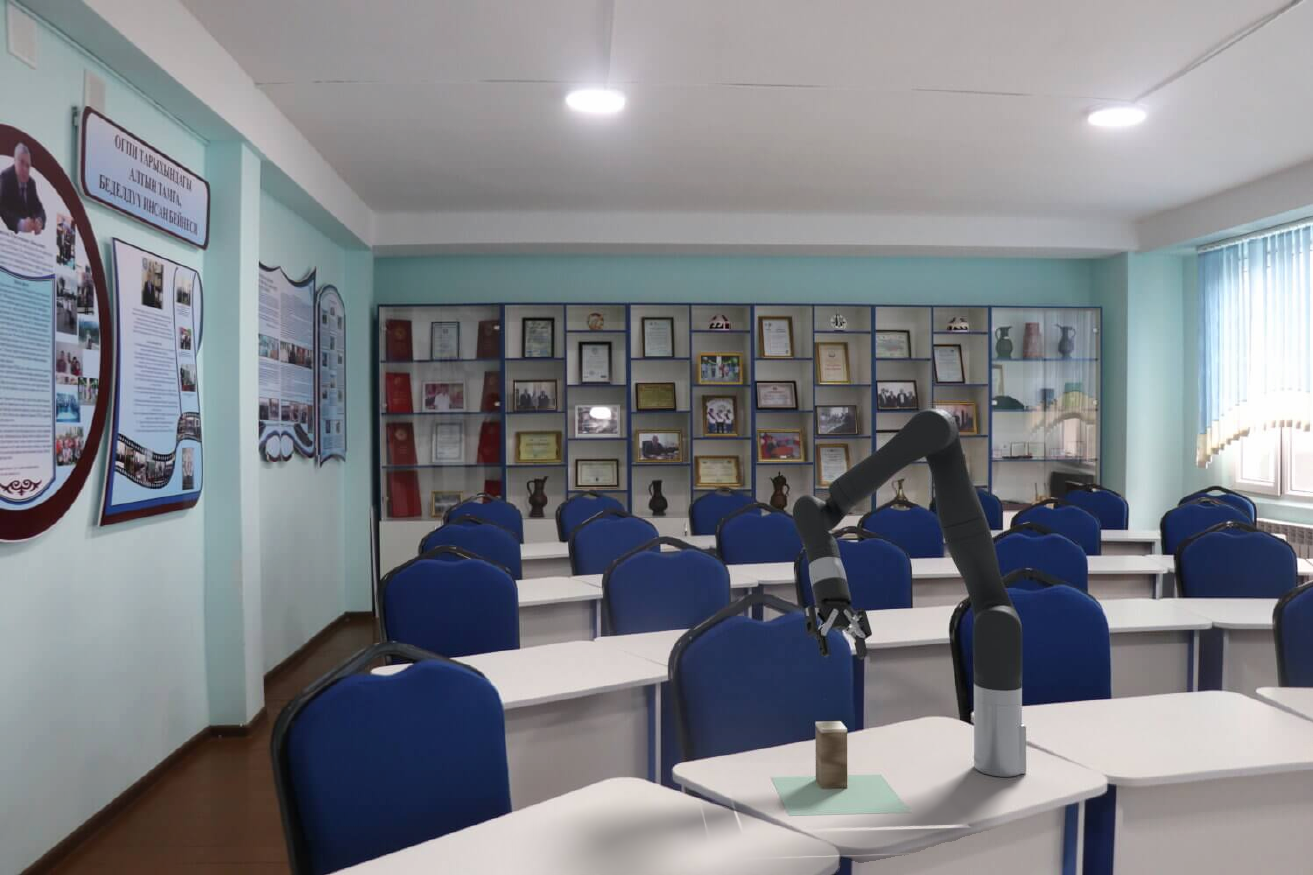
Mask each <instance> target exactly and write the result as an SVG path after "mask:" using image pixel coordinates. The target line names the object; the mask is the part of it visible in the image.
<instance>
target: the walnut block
mask: <svg viewBox="0 0 1313 875" xmlns="http://www.w3.org/2000/svg"><path fill="white" fill-rule="evenodd" d="M814 722H815V726H814V727H815V728H814V730H815V776H816V781H817V783H818V784H819V786H820V788H821V789H847V775H848V728H847V727H846V726H845V724H844V723H843V722H842V721H841V720H833V721H831V720H830V721H814Z"/></svg>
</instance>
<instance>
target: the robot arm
mask: <svg viewBox="0 0 1313 875" xmlns="http://www.w3.org/2000/svg"><path fill="white" fill-rule="evenodd" d="M924 458H925V460H926V462H927V464H928V468H929V470H930V472H931V474H930V475H931V476H932V477H931V478H932V480H933V486H934V497H935V499H934V500H935V508H936V515H937V520H938V523H939V527H940V529H941V533H942V536H943V539H944V542H945V545H946V548H947V550H948V552H949V554H950V556H951V558H952V559H951V560H952V561H953V563H954V565H955V567H956V568H957V571H958V573H959V574H960V576H961V578H962V581H963V582H964V584H965V588H966V591H967V594H968V597H969V603H970V606H971V610H972V616H973V622H974V623H973V629H972V643H973V644H972V647H973V648H972V653H973V654H972V655H973V664H972V666H973V667H972V668H973V768H974V769H975V770H976V771H978V772H980V773H982V774H984V775H989V776H994V777H1000V778H1001V777H1002V778H1003V777H1005V778H1006V777H1007V778H1010V777H1016V776H1019V775H1022V774H1023V775H1024V774H1027V727H1026V725H1025V724H1024V723H1023V627H1022V626H1023V625H1022V621H1021V619H1020V616H1019V614H1018V612H1017V610H1016V609H1015V606H1014V604H1013V602H1012V600H1011V597H1010V596H1009V593H1008V590H1007V588H1006V586H1005V584H1004V582H1003V579H1002V575H1001V572H1000V571H1001V570H1000V566H999V561H998V556H997V551H996V546H995V544H994V543H995V542H994V539H993V535H992V531H991V529H990V526H989V522H988V520H987V517H986V513H985V510H984V508H983V505H982V503H981V500H980V497H979V495H978V492H977V489H976V487H975V485H974V482H973V480H972V478H971V475H970V472H969V470H968V467H967V464H966V460H965V456H964V451H963V448H962V443H961V438H960V433H959V428H958V425H957V422H956V419H955V418H954V417H953V415H951V413H950V412H947V411H946V410H945V409H941V408H927V409H923V410H919V411H918V412H916V413H915V414H914V415H913V416H912V417H911V419H910V420H909V421H908V422H906V424H905V425H903V427H902V428H901V429H900V430H899V431H897V433H896V434H895V435H894V436H893V437H892V438H891V439H889V441H886V443H885V444H884V445H883V446H881V447H880V448H879V449H877V450H876V451H874V452H873V453H871V455H869V456H867V457H866V458H864V459H863V460H861V461H860V462H859V463H857V464H855V465H854V466H852V467H851V468H849V469H848V470H846V471H845V472H844V473H843V474H841V475H840V476H839V477H837V478H835V480H833V481H832V482H831V483H830V484H829V486H828V493H829V496H828V497H827V498H826V499H825V500H822V499H820V498H818V497H816V496H814V495H811V494H805V495H802V496H800V497H798V498H797V499H796V501H795V502H794V504H793V506H792V519H793V524H794V526H795V529H796V532H797V534H798V536H799V538H800V540H801V542H802V544H803V546H804V549H805V553H806V555H805V556H806V560H807V564H808V570H809V572H808V574H809V575H808V576H809V580H810V584H811V590H812V596H813V600H814V604H810V605H809V606H808V607H806V608H805V609H804V610H803V615H804V621H805V629H806V635H807V637H810V638H811V637H813V638H815V640H816V642H817V646H818V652H819V653H820V655H821V657H823V658H827V657H829V656H830V655H831V648H830V643H829V638H828V636H827V633H828V631H834V630H837V631H841V632H844V633H845V634H846V635H848V636H849V637H851V638H852V639H853V642H854V647H855V652H856V657H857V659H858V660H864V659H865V658H866V657H867V655H868V649H867V645H866V640H867V639H869V638H870V637H871V636H873V632H872V628H871V624H870V622H869V618H868V613H867V610H866V609H865V608H861V609H858V610H854V609H853V608H852V606H851V604H852V603H851V602H852V597H851V592H850V589H849V583H848V580H847V574H846V571H845V567H844V565H843V562H842V558H841V553H840V549H839V545H838V542H837V540H836V538H835V537H834V536H833V535H832V534H831V533H830V532H831V531H833V530H834V529H835V528H836V527H837V526H839V524H840V523H841V521H843V519H845V517H846V516H847V515H848V514H849V513H850V511H851V510H852V508H854V507H855V506H857V505H859V504H860V503H862V502H863V501H864V500H866V499H867V498H869V497H870V496H871V495H873V494H874V493H875V492H877V491H878V490H879V489H880V488H881V487H882V486H883V485H885V484H886V483H887V482H888V481H889V480H890V479H892V478H893V477H894V476H895V475H896V474H897V473H899V472H900V471H902V470H903V469H904V468H906V467H908V466H910V465H911V464H913V463H915V462H917V461H918V460H921V459H924ZM817 617H818V618H819V619H820V624H819V626H818V620H817ZM850 625H851V627H850Z"/></svg>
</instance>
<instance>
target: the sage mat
mask: <svg viewBox="0 0 1313 875" xmlns="http://www.w3.org/2000/svg"><path fill="white" fill-rule="evenodd" d="M770 779H771V781H772V783H773V785H774V787H775V790H776V791H777V794H778V795H779V797H780V799H781V801H782V804H783V805H784V807H785V810H786V812H787V814H788V816H789V817H793V816H795V817H797V816H799V817H800V816H831V815H870V814H874V815H875V814H903V813H904V814H905V813H906V814H907V813H909V814H910V813H912V811H911V810H910V809H909V808H908V806H907V805H906V804H905V803H904V801H903V800H902V799H901V798H900V796H899V795H898V794H897V793H896V792H895V790H894V789H893V788H892V786H891V785H890V784H889V782H887V780H886V779H885V778H884V776H882V774H878V773H877V774H847V789H821V788H820V786H819V784H818V783H817V781H816V775H812V776H811V775H810V776H809V775H805V776H803V775H802V776H771V777H770Z"/></svg>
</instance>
